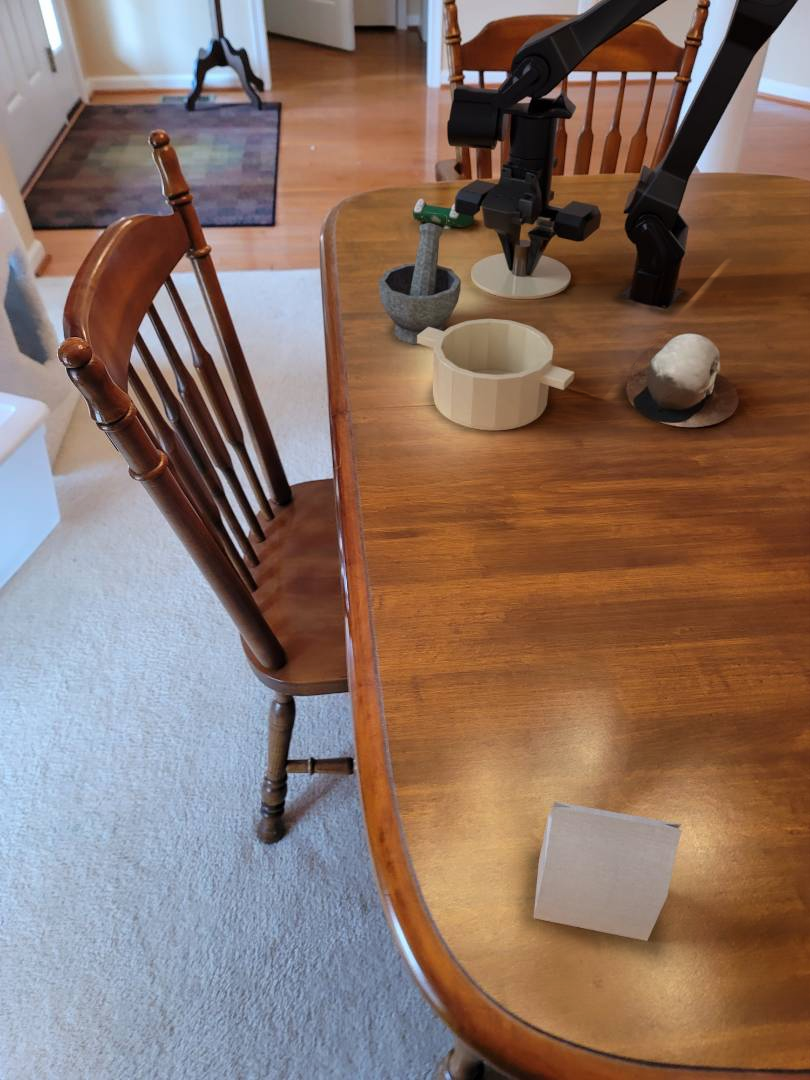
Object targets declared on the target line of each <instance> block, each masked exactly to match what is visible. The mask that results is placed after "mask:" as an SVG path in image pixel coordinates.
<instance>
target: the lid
mask: <svg viewBox="0 0 810 1080" xmlns="http://www.w3.org/2000/svg"><path fill="white" fill-rule="evenodd" d="M529 248H530V240H528V239H520V240H518V241H516V242H515V243H514V254H513V267H512V271H509V269H508V265H507V262H506V258H505V255H504V252H502V253H497V254H492V255H489V256H486V257H483V258H482V259H480V260H478V261H477V262H475V264H474V265H472V268H471V270H470V278H471V281H472V283H473V284H474V285H475V286H476V287H477V288H479V289H480V290H481V291H483V292H485V293H488V294H490V295H494V296H497V297H501V298H506V299H512V300H537V299H543V298H548V297H552V296H554V295H557V294H559V293H561V292H563V291H564V290H566V289H567V287H568V286H570V283H571V280H572V279H571V278H572V273H571V271H570V270H569V268H568V267H567V266H566V265H565V264H563V263H562V262H560V261H559V260H557V259H554V258H552V257H550V256H546V255H543V254H542V256H541V258H540V260H539V262H538V264H537V266H536V268H535V270H534V272H533V273H532V274H531V275H530V276H528V275H527V261H528V255H529Z"/></svg>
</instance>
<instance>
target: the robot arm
mask: <svg viewBox="0 0 810 1080" xmlns="http://www.w3.org/2000/svg"><path fill="white" fill-rule="evenodd" d="M667 1H668V0H600V1H598V2H597V3H595V4H594V5H592V6H591V7H590V8H588V9H586V11H584V12H582V13H580V14H578V15H576V16H573V17H571V18H569V19H566V20H563V21H560V22H558V23H556V24H554V25H552V26H550V27H547V28H545V29H543V30H541V31H539V32H537V33H534V34H533V35H531V36H530V37H529V38H528V39H527V40H526V41H525V42H524V43H523V45H522V46H521V47H520V48H519V49H518V50H517V51H516V53H515V54H514V56H513V58H512V61H511V66H510V77H509V78H505V79H504V81H503V82H502V83H501V84H500V86H498V88H496V89H495V88H483V87H474V86H471V85H466V84H458V85H457V86H456V87H455V88H454V90H453V100H452V102H451V106H450V111H449V119H448V120H447V123H446V133H447V134H446V135H447V137H446V138H447V142H448V146H449V147H456V148H468V149H476V150H477V149H479V150H489V151H494V150H495V149H496V148H497V145H498V142H499V143H500V142H501V143H504V142H505V140H506V137H507V133H508V128H509V139H508V153H507V161H505V162H503V163H502V168H501V170H500V177H499V179H498V183H494V182H489V181H485V180H481V179H476V180H473V181H471V183H469V184H467V185H466V186H463V187H462V188H460V189H459V190H458V191H457V192H456V195H455V197H454V204H455V212H456V213H460V214H464V215H468V216H472V217H473V216H474V217H475V216H476V215H477V214H478V213H479V212H480V211H482V217H483V224H484V227H485V228H486V229H489V230H493V231H495V232H496V234H497V236H498V239H499V241H500V244H501V247H502V252H503V253H504V255H505V258H506V262H507V265H508V269H509V271H512V267H513V254H514V243H515V242H516V241H518V240H521V234H522V233H521V231H522V226H524V224H526V225H531V226H533V225H534V224H535V223H536V225H535V226H534V227H533V228H532V229H531V230H529V231H528V232H527V236H528V238H529V241H530V248H529V255H528V261H527V275H528V276H530V275H531V274H532V273H533V272H534V270H535V268H536V266H537V264H538V262H539V260H540V258H541V256H542V255H543V254H544V252H545V250H546V248H547V247H548V245H549V244H550V242H551V240H552V239H553V238H554V237H555V236H557V238H560V239H564V240H567V241H573V242H576V243H578V242H584V241H585V240H586V239H588V238H589V237H590V236H591V235H592V234H594V233H595V232H596V231H597V230H599V229H600V228H601V227H600V226H601V220H602V213H601V211H600V208H599V206H598V205H595V204H590V203H586V202H580V201H577V200H572V201H571V202H570V203H568V204H567V205H566V206H564V207H561V206H556V205H550V202H552V201H553V200H554V198H555V190H552V181H553V171H554V169H555V168H557V167H558V162H559V157H555V154H556V153H555V152H556V143H557V134H558V133H557V132H558V123H559V120H570V119H572V117H573V115H574V113H575V111H576V110H577V106H576V104H574V102H572V100H571V99H570V98H569V97H568V95H567V92H566V91H565V90H562V91H561V92H560V93H559V95H558V96H556V97H555V98H554V97H546V96H547V95H549V94H550V93H551V92H552V91H553V90H554V89H556V87H558V86H559V85H560V84H561V83H562V82H563V81H564V80H565V79H566V78H567V77H568V76H569V75H571V74H572V72H573V71H574V70H575V69H576V68H578V66H579V65H580V64H581V63H582V62H584V60H585V59H586V58H587V57H588V56H589V55H591V54H592V52H593V51H595V50H596V49H598V48H599V47H600V46H602V45H603V44H605V43H607V42H608V41H609V40H611V39H612V38H614V37H615V36H617V35H618V34H620V33H622V32H623V31H624V30H626V29H627V28H629V27H630V26H632V25H633V24H635V23H636V22H637V21H640V20H641V19H642V18H644V17H645V16H647V15H648V14H649V13H651V12H652V11H654V10H655V9H657V8H658V7H660V6H661V5H663V4H664V3H666V2H667ZM798 1H799V0H735V3H734V6H733V10H732V11H731V16H730V18H729V22H728V25H727V28H726V31H725V34H724V37H723V39H722V41H721V43H720V45H719V47H718V49H717V50H716V53H715V55H714V57H713V59H712V61H711V63H710V65H709V67H708V69H707V71H706V73H705V75H704V77H703V78H702V81H701V82H700V84H699V86H698V89H697V91H696V92H695V94H694V96H693V99H692V101H691V103H690V105H689V107H688V109H687V110H686V113H684V116H683V118H682V120H681V123H680V124H679V126H678V128H677V131H676V132H675V134H674V136H673V138H672V140H671V142H670V144H669V146H668V148H667V150H666V152H665V154H664V156H663V158H662V159H661V160H660V161H659V162H658V164H657V165H656V166H655V167H654V168H653V169H651V168H650V167H648V166H647V165H645V164H644V165H642V168H641V171H640V175H639V178H638V180H637V183H636V184H635V186H634V187H633V189H631V191H629V193H628V195H627V198H626V202H625V206H624V209H623V215H624V214H625V215H627V216H626V219H625V223H624V231H625V234H626V237H627V239H629V241H630V242H631V243H632V244H634V245H635V249H636V257H635V263H634V266H633V273H632V279H631V284H630V285H629V286H628V287H627V288H626V289H625V290H624V291H623V292H622V293H621V294H620V297H621V298H622V299H625V300H630V301H633V302H635V303H639V304H643V305H646V306H651V307H652V306H653V307H657V308H660V309H664V310H665V309H668V308H669V307H670V306H671V305H672V304H673V303H674V302H675V301H676V300H677V299H678V298H679V296H680V295H682V294H683V292H684V290H683V288H679V287H677V284H678V279H679V275H680V271H681V268H682V267H681V266H682V262H683V258H684V256H685V255H686V248H687V243H688V242H687V240H688V236H689V228H690V226H689V224H688V223H687V222H686V221H685V220H684V218H683V217H682V215H681V214H680V212H679V211H680V208H681V206H682V202H683V199H684V196H685V193H686V189H687V186H688V183H689V180H690V177H691V175H692V173H693V172H694V169H695V168H696V166H697V164H698V162H699V161H700V159H701V157H702V155H703V153H704V151H705V149H706V147H707V145H708V144H709V142H710V140H711V138H712V136H713V134H714V132H715V131H716V128H717V126H718V125H719V123H720V121H721V119H722V118H723V115H724V114H725V112H726V110H727V108H728V106H729V104H730V102H731V100H732V99H733V97H734V95H735V93H736V91H737V90H738V88H739V86H740V84H741V82H742V80H743V78H744V76H745V74H746V72H747V71H748V69H749V68H750V65H751V63H752V61H753V59H754V57H755V56H756V55H757V53H759V51H760V49H761V48H762V47H763V46H764V45H765V44H766V43H767V41H769V39H770V38H771V37H772V36H773V34H775V32H776V31H777V29H778V28H779V27H780V26H781V24H782V23H783V21H784V20H785V19H786V18H787V16H788V14H789V13H790V12H791V11H792V9H793V8H794V7H795V5H796V4H797V3H798ZM526 98H530V101H529V102H521V101H523V100H524V99H526ZM509 115H510V122H509ZM509 123H510V124H509ZM508 124H509V125H508ZM508 126H509V127H508Z"/></svg>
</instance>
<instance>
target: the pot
mask: <svg viewBox="0 0 810 1080" xmlns="http://www.w3.org/2000/svg"><path fill="white" fill-rule="evenodd" d="M417 343H418V344H417V345H422V346H424V347H428V348H431V349H433V357H432V358H433V362H432V363H433V367H432V369H433V370H432V397H433V402H434V405H435V407H436V409H437V410H438V411H439V413H440V414H441V415H442V416H444V417H445V418H446V419H448V420H450V421H452V422H454V423H456V424H457V425H460V426H463V427H466V428H469V429H470V428H471V429H475V430H480V431H507V430H512V429H516V428H521V427H523V426H526V425H529V424H530V423H532V422H534V421H536V420H537V419H538V418H539V417H540V416H541V415H542V414H543V413H544V412H545V410H546V407H547V404H548V395H549V388H550V387H552V388H554V389H555V388H556V389H559V390H562V391H565V389H566V388H567V387H568V386H569V385H570V384H571V383H572V382H573V381H574V378H575V371H573V370H570V369H565V368H563V367H560V366H556V365H553V355H554V348H555V347H554V345H553V343H552V342H551V341H550V339H549V337H548V336H547V335H546V334H545V333H543V332H542V331H540V330H538V329H537V328H535V327H534V326H531V325H528V324H525V323H521V322H518V321H514V320H511V319H498V318H482V319H471V320H465V321H462V322H460V323H457V324H454V325H451V326H449V327H448V328H446V329H444V330H443V331H441V330H438V329H435V328H431V327H427V328H426V329H425V330H423V331H422V332H421V333H420V334H418V335H417Z"/></svg>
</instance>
